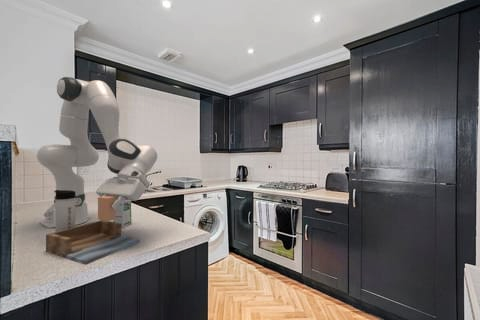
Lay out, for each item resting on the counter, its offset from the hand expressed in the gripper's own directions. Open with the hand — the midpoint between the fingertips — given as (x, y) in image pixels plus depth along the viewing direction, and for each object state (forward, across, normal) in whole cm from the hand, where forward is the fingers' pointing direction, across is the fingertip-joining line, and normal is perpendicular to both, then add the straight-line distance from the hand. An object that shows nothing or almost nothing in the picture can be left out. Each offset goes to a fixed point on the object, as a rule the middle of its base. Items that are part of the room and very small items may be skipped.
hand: (106, 207), depth 78 cm
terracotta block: (+3, 0, +3) cm, 4 cm away
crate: (+11, -6, +11) cm, 16 cm away
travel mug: (+11, -23, +10) cm, 28 cm away
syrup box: (-5, -20, +26) cm, 34 cm away
